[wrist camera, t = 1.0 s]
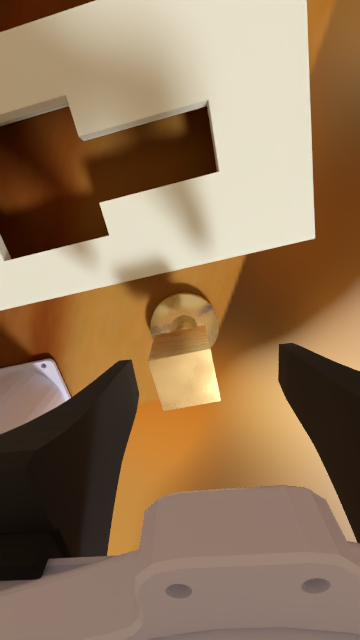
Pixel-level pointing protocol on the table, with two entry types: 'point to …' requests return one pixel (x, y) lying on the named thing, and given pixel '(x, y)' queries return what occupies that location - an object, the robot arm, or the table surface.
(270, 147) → the keyhole plate
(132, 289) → the table surface
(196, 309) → the keyhole peg
